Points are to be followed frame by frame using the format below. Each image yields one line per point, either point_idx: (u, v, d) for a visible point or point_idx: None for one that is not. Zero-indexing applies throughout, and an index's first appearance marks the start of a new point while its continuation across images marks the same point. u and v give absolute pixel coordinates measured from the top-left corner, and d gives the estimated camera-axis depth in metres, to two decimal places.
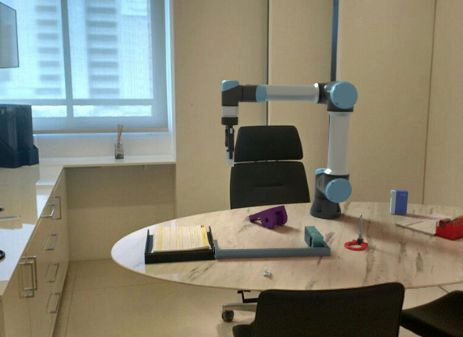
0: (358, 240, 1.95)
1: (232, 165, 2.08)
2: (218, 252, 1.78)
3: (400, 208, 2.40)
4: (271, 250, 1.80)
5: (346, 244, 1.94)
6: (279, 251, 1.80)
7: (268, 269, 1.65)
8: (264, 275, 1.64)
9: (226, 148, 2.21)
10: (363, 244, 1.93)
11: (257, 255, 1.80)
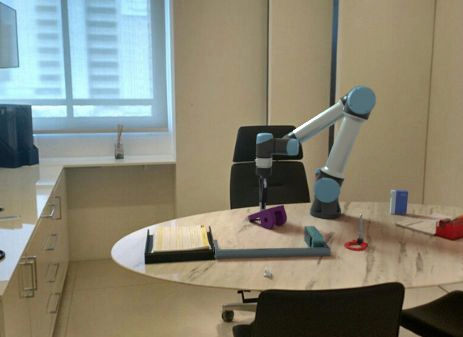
0: (358, 240, 1.95)
1: None
2: (218, 252, 1.78)
3: (400, 208, 2.40)
4: (271, 250, 1.80)
5: (346, 244, 1.93)
6: (279, 251, 1.80)
7: None
8: None
9: None
10: (363, 244, 1.93)
11: (257, 255, 1.80)
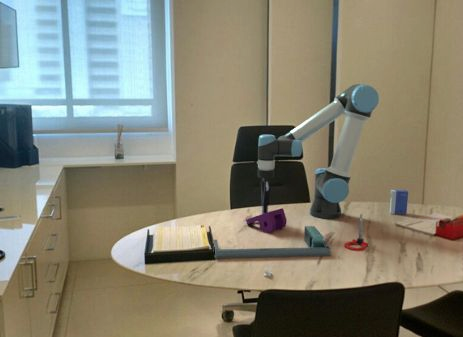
0: (358, 240, 1.95)
1: None
2: (218, 252, 1.78)
3: (400, 208, 2.40)
4: (271, 250, 1.80)
5: (346, 244, 1.93)
6: (279, 251, 1.80)
7: (269, 270, 1.64)
8: None
9: (263, 206, 2.23)
10: (363, 244, 1.93)
11: (257, 255, 1.80)
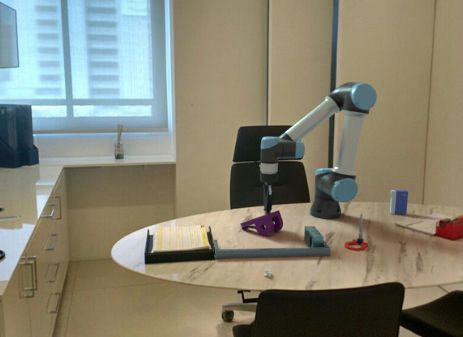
0: (358, 240, 1.95)
1: None
2: (218, 252, 1.78)
3: (400, 208, 2.40)
4: (271, 250, 1.80)
5: (346, 244, 1.93)
6: (279, 251, 1.80)
7: (269, 270, 1.64)
8: None
9: None
10: (363, 244, 1.93)
11: (257, 255, 1.80)
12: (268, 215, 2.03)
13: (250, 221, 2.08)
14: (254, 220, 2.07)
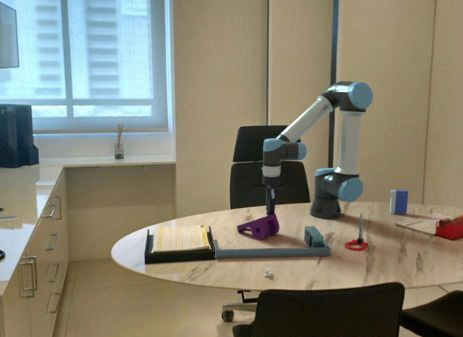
0: (358, 240, 1.95)
1: None
2: (218, 252, 1.78)
3: (400, 208, 2.40)
4: (271, 250, 1.80)
5: (346, 244, 1.93)
6: (279, 251, 1.80)
7: (269, 270, 1.64)
8: (265, 276, 1.63)
9: None
10: (363, 244, 1.93)
11: (257, 255, 1.80)
12: (263, 218, 1.99)
13: (245, 224, 2.04)
14: (249, 223, 2.03)
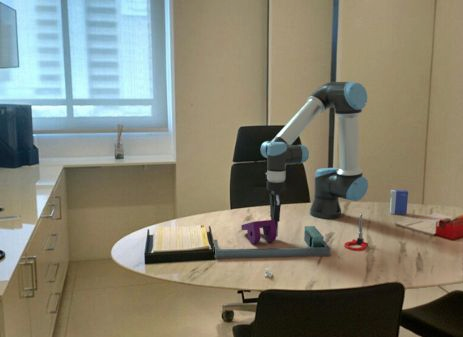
0: (358, 240, 1.95)
1: None
2: (218, 252, 1.78)
3: (400, 208, 2.40)
4: (271, 250, 1.80)
5: (346, 244, 1.93)
6: (279, 251, 1.80)
7: None
8: (265, 276, 1.63)
9: None
10: (363, 244, 1.93)
11: (257, 255, 1.80)
12: (255, 222, 1.92)
13: (245, 225, 2.00)
14: (247, 225, 1.98)
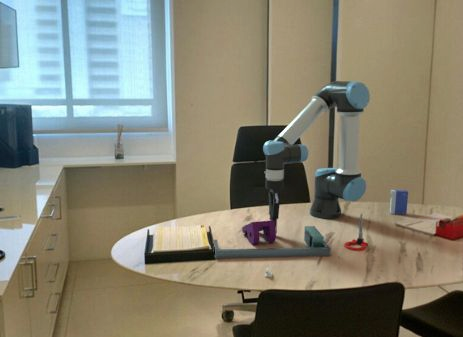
0: (358, 240, 1.95)
1: None
2: (218, 252, 1.78)
3: (400, 208, 2.40)
4: (271, 250, 1.80)
5: (346, 244, 1.93)
6: (279, 251, 1.80)
7: None
8: (266, 276, 1.63)
9: (271, 219, 2.04)
10: (363, 244, 1.93)
11: (257, 255, 1.80)
12: (254, 223, 1.92)
13: (245, 227, 2.01)
14: (246, 226, 1.99)
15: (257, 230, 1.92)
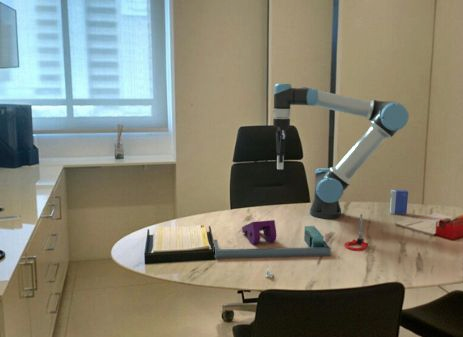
0: (358, 240, 1.95)
1: (282, 168, 2.23)
2: (218, 252, 1.78)
3: (400, 208, 2.40)
4: (271, 250, 1.80)
5: (346, 244, 1.93)
6: (279, 251, 1.80)
7: (270, 271, 1.64)
8: None
9: None
10: (363, 244, 1.93)
11: (257, 255, 1.80)
12: (255, 223, 1.93)
13: (245, 227, 2.01)
14: (247, 226, 1.99)
15: (258, 230, 1.92)
